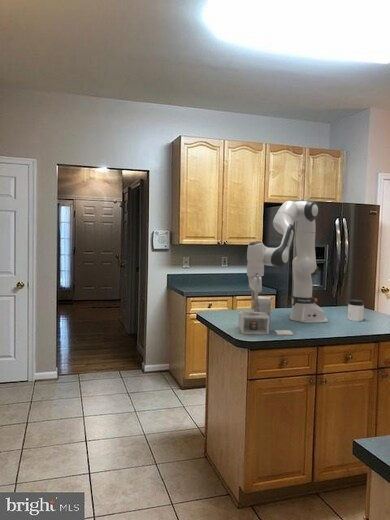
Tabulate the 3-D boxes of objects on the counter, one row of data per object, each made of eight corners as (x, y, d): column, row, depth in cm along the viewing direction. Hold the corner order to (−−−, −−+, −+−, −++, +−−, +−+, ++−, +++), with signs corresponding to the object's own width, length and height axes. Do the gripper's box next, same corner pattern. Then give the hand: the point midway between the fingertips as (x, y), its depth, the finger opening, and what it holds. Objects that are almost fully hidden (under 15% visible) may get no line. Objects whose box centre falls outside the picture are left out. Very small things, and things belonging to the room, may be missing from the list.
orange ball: (256, 328, 219) (256, 321, 219) (257, 330, 215) (258, 322, 215) (249, 328, 219) (249, 320, 219) (250, 330, 215) (250, 322, 215)
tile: (289, 331, 216) (289, 330, 216) (293, 335, 208) (293, 334, 208) (274, 331, 216) (274, 329, 216) (277, 335, 208) (277, 333, 208)
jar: (345, 318, 256) (346, 299, 255) (358, 318, 256) (359, 299, 256) (351, 321, 247) (352, 301, 246) (365, 321, 247) (366, 301, 247)
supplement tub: (251, 323, 235) (252, 297, 234) (255, 320, 243) (256, 295, 242) (268, 325, 231) (269, 299, 230) (271, 321, 240) (272, 297, 239)
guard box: (264, 327, 224) (264, 311, 224) (268, 334, 210) (269, 317, 210) (238, 327, 224) (239, 311, 223) (241, 333, 210) (242, 316, 209)
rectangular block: (256, 309, 218) (257, 286, 217) (257, 310, 215) (258, 287, 214) (251, 309, 218) (251, 286, 217) (252, 310, 215) (252, 287, 214)
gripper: (265, 274, 205) (264, 301, 206) (258, 270, 225) (257, 295, 226) (252, 274, 205) (252, 301, 206) (246, 270, 225) (246, 295, 226)
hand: (255, 298), depth 216 cm, fingers closed on rectangular block, 3 cm apart
